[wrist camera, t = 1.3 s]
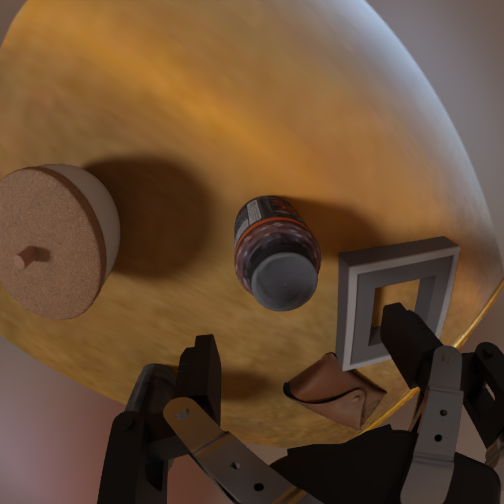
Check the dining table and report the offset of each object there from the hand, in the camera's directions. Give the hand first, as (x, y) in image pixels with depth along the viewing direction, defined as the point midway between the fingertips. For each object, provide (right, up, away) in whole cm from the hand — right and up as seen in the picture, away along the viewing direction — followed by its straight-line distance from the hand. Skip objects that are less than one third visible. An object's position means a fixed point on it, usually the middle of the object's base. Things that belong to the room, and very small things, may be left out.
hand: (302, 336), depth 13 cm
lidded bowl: (-19, +7, +13) cm, 25 cm away
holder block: (+14, -2, +19) cm, 24 cm away
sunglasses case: (+11, -16, +26) cm, 32 cm away
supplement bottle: (-1, +6, +15) cm, 16 cm away
